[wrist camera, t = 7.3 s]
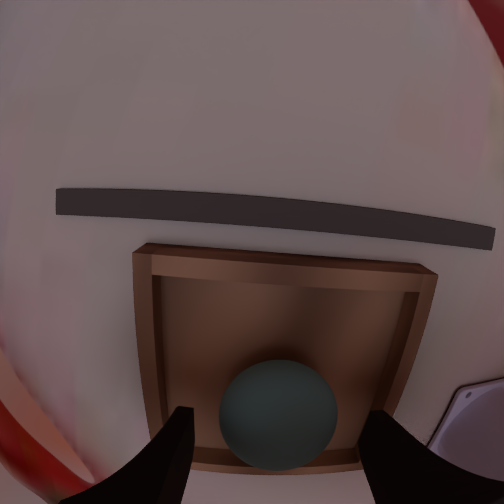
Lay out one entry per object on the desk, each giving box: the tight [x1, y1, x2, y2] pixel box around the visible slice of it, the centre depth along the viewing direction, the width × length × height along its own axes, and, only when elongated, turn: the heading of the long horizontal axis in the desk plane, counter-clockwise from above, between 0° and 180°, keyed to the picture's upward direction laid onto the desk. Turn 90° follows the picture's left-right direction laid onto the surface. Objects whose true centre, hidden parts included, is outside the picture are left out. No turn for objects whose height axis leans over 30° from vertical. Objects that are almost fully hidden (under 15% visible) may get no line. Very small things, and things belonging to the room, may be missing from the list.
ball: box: [219, 360, 338, 471], centre depth 12 cm, size 5×5×5 cm
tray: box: [132, 243, 438, 475], centre depth 14 cm, size 13×13×2 cm
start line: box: [56, 189, 496, 251], centre depth 13 cm, size 22×1×1 cm, turn 85°
